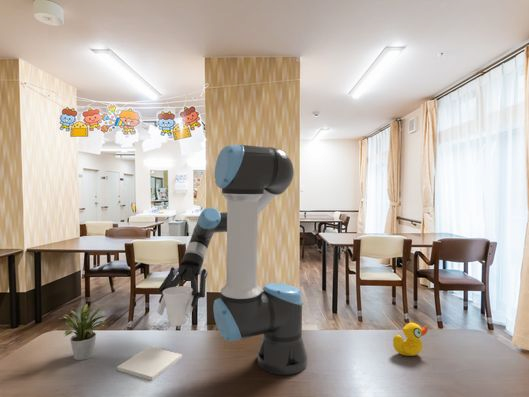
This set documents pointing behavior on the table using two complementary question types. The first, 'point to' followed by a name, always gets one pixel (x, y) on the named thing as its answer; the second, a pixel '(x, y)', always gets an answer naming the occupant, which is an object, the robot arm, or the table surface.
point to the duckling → (410, 340)
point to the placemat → (149, 363)
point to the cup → (177, 304)
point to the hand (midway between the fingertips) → (173, 314)
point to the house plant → (83, 333)
